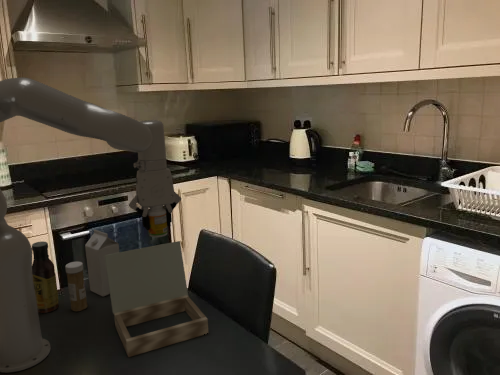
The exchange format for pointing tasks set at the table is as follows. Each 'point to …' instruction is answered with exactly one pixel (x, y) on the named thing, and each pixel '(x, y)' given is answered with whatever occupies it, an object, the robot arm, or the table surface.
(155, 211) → the supplement bottle
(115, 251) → the milk carton
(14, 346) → the robot arm
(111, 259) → the panel
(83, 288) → the sprinkles bottle
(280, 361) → the table surface
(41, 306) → the sauce bottle
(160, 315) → the brown wooden tray
